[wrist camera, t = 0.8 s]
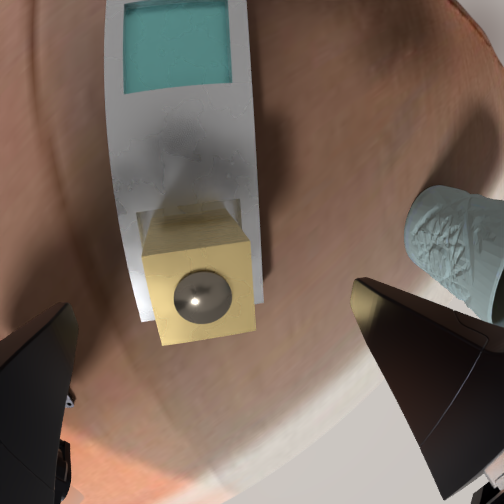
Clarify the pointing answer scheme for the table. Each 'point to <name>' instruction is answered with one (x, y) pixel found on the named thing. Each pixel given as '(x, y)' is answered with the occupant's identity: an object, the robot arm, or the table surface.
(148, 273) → the block
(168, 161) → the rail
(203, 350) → the table surface
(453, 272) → the embossed vase
